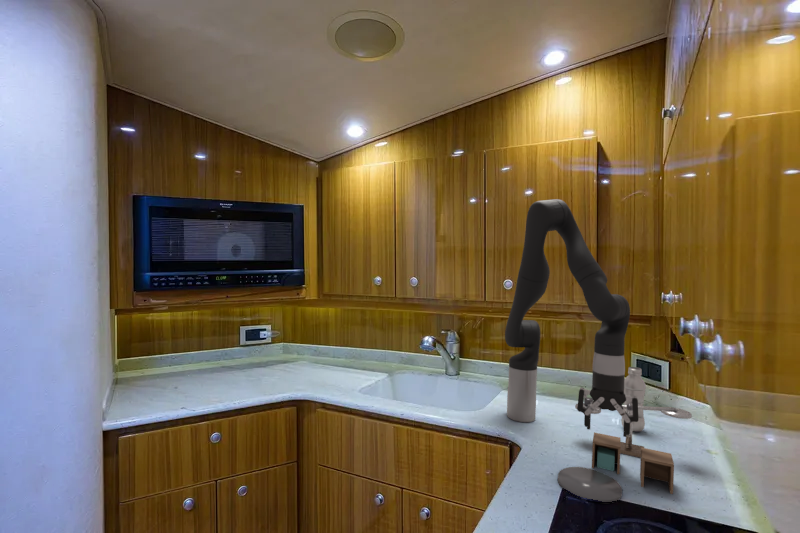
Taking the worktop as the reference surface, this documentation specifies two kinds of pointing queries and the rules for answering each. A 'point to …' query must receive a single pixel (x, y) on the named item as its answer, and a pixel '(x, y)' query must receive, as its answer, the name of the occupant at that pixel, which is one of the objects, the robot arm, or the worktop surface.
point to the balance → (628, 446)
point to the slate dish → (590, 484)
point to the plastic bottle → (635, 394)
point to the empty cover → (657, 466)
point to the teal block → (606, 458)
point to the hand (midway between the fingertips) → (606, 432)
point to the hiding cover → (606, 442)
